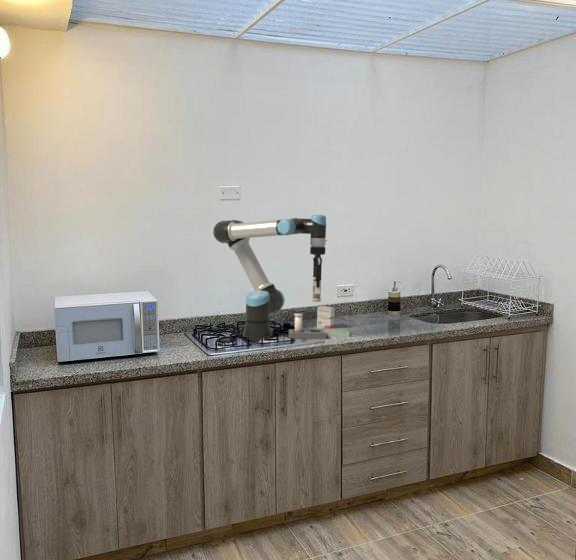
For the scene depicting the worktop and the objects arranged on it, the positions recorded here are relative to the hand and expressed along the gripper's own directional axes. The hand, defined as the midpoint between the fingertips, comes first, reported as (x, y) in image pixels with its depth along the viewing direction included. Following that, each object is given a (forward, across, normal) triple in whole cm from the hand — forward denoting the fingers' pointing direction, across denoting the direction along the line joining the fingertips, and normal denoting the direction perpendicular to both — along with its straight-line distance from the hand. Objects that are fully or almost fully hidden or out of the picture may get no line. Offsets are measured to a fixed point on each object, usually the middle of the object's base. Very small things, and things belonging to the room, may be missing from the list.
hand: (316, 292), depth 302 cm
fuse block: (+24, 0, +4) cm, 24 cm away
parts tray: (+24, +5, -12) cm, 27 cm away
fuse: (+23, 0, +9) cm, 24 cm away
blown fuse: (+4, 0, 0) cm, 4 cm away
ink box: (+24, +24, -9) cm, 35 cm away
